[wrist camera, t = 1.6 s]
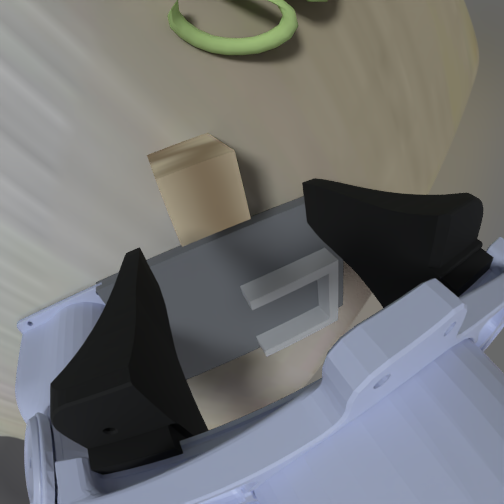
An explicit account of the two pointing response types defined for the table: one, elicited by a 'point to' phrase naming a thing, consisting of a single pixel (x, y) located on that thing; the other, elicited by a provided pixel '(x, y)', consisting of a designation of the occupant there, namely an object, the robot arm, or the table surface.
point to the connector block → (200, 187)
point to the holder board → (247, 288)
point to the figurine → (237, 44)
